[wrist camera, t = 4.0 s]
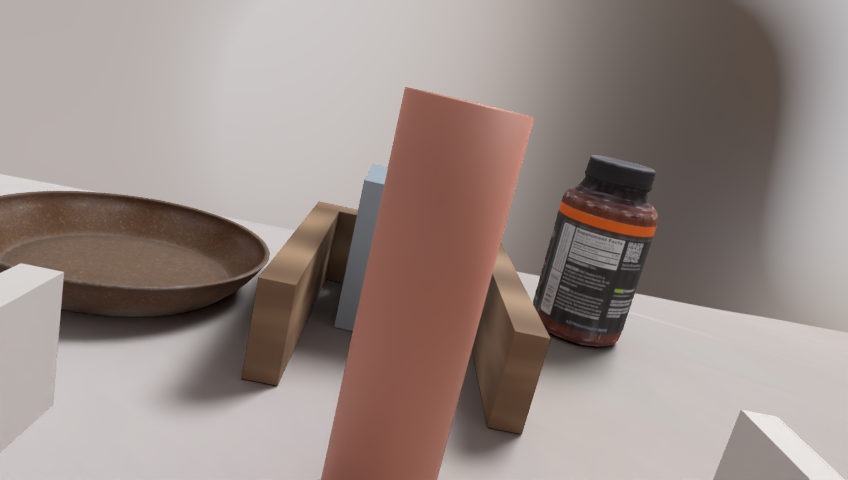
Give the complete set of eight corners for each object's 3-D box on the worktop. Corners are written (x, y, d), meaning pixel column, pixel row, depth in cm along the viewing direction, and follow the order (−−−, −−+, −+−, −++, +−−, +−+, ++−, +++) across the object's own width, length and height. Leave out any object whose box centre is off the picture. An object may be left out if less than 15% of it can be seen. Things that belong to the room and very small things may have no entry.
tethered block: (346, 289, 38) (390, 78, 35) (440, 309, 38) (492, 102, 35) (268, 524, 18) (355, 76, 15) (467, 560, 18) (593, 132, 15)
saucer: (299, 275, 39) (306, 235, 39) (175, 373, 25) (183, 313, 24) (88, 218, 41) (92, 178, 40) (-143, 280, 26) (-143, 220, 26)
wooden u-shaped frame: (306, 267, 40) (318, 201, 39) (483, 304, 41) (500, 241, 40) (241, 378, 25) (258, 277, 24) (521, 434, 26) (550, 338, 25)
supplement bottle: (548, 304, 44) (593, 151, 42) (628, 337, 41) (682, 175, 39) (513, 321, 39) (562, 148, 37) (601, 360, 36) (662, 175, 34)
